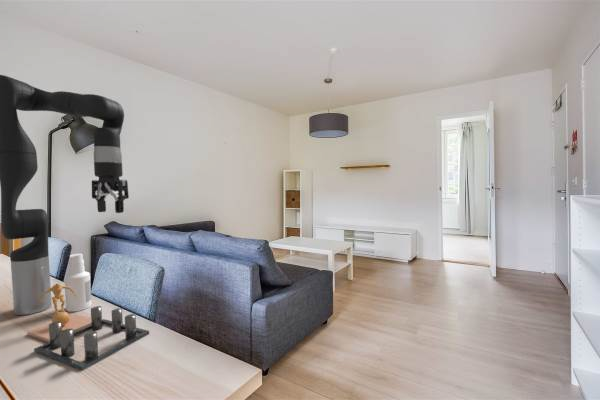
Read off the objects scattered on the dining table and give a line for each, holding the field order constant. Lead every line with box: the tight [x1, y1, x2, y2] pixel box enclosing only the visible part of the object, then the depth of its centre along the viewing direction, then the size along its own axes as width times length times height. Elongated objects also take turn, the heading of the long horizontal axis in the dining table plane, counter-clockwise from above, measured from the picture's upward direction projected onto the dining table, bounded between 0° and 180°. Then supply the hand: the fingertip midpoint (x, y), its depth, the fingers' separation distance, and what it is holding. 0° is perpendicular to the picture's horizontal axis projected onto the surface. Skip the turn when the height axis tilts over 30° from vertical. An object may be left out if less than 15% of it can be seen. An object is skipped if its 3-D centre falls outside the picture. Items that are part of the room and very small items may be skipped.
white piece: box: [64, 253, 92, 313], centre depth 97 cm, size 7×7×18 cm
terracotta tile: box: [27, 313, 91, 343], centre depth 84 cm, size 11×12×1 cm
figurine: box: [39, 283, 76, 326], centre depth 84 cm, size 8×6×12 cm
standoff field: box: [33, 305, 150, 371], centre depth 76 cm, size 19×17×6 cm
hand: (110, 212), depth 94 cm, fingers open, 8 cm apart
